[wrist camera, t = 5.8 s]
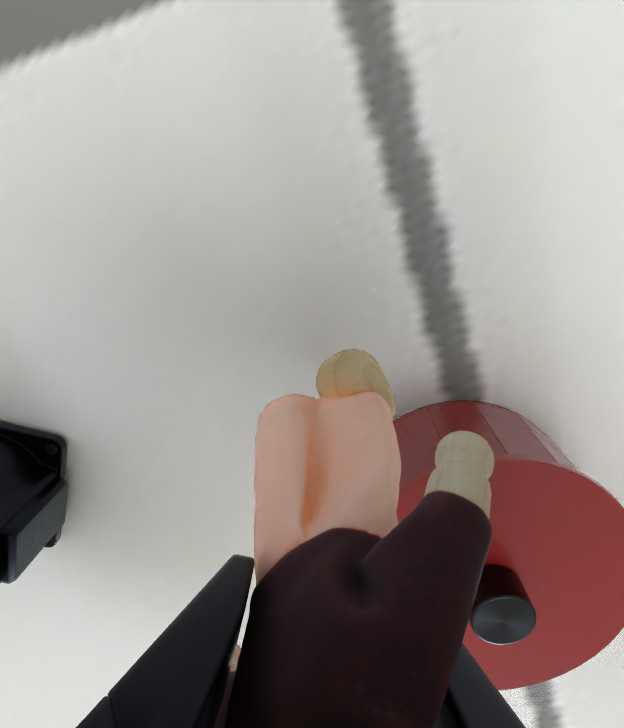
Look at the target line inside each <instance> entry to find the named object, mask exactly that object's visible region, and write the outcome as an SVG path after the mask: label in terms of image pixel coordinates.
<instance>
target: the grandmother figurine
mask: <svg viewBox="0 0 624 728" xmlns="http://www.w3.org/2000/svg"><path fill="white" fill-rule="evenodd" d="M316 387H317V390H318V393H319V395H320V397H321V398H320V399H315V398H312V397H309V396H305V395H298V394H291V395H285V396H282V397H280V398H278V399H276V400H274V401H272V402H270V403H269V404H268V405H267V406H266V408H265V409H264V410H263V412H262V413H261V415H260V417H259V420H258V427H257V434H256V439H255V477H254V487H255V519H254V561H255V573H256V587H255V589H254V591H253V593H252V597H251V601H250V612H249V619H248V622H247V626H246V630H245V635H244V639H243V642H242V648H240V646H239V645H237V644H236V649H235V653H234V657H233V661H232V665H231V669H230V673H229V677H228V681H227V685H226V689H225V693H224V696H223V699H222V703H221V706H220V709H219V712H218V715H217V718H216V721H215V724H214V727H213V728H434V726H435V724H436V722H437V720H438V717H439V714H440V710H441V707H442V704H443V702H444V698H445V695H446V692H447V689H448V685H449V682H450V679H451V676H452V673H453V669H454V666H455V664H456V661H457V659H458V656H459V652H460V648H461V645H462V641H463V638H464V634H465V631H466V628H467V624H468V621H469V617H470V614H471V610H472V606H473V603H474V600H475V598H476V593H477V589H478V585H479V582H480V579H481V575H482V571H483V567H484V564H485V561H486V558H487V555H488V551H489V547H490V543H491V538H492V526H491V522H490V521H489V514H490V503H491V489H490V483H489V481H488V479H489V477H490V476H491V474H492V471H493V467H494V455H493V452H492V449H491V447H490V445H489V444H488V442H487V441H486V440H485V439H484V438H482V437H481V436H480V435H478V434H476V433H473V432H469V431H456V432H452V433H450V434H448V435H446V436H445V437H444V438H443V439H442V440H441V441H440V442H439V444H438V446H437V449H436V452H435V465H436V468H435V469H434V470H433V471H432V473H431V475H430V477H429V480H428V483H427V487H426V490H425V494H424V497H423V498H422V500H421V501H420V502H419V503H418V505H417V506H416V508H415V509H414V510H413V511H412V512H411V513H410V514H409V515H408V516H406V517H405V518H404V519H403V520H402V521H401V522H400V523H399V524H398V521H397V516H396V509H397V504H398V497H399V482H400V475H401V458H400V451H399V446H398V441H397V436H396V432H395V429H394V425H393V420H392V419H393V417H394V415H395V412H396V402H395V399H394V396H393V394H392V392H391V389H390V387H389V385H388V383H387V380H386V378H385V376H384V373H383V371H382V369H381V367H380V365H379V364H378V362H377V361H376V359H375V358H374V357H373V356H371V355H370V354H368V353H366V352H365V351H361V350H357V349H349V350H344V351H341V352H339V353H337V354H335V355H334V356H332V357H330V358H329V359H328V360H326V361H325V362H324V363H323V364H322V366H321V367H320V369H319V371H318V374H317V377H316Z"/></svg>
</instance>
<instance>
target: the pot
mask: <svg viewBox="0 0 624 728" xmlns="http://www.w3.org/2000/svg"><path fill="white" fill-rule="evenodd" d="M393 425H394V429H395V432H396V436H397V441H398V446H399V451H400V458H401V475H400V482H399V484H400V483H402V482H403V481H405V480H407V479H408V478H410V477H412V476H414V475H416V474H418V473H419V472H421V471H424V470H426V469H428V468H431V467H433V466H436V465H435V452H436V449H437V446H438V444H439V442H440V441H441V440H442V439H443V438H444V437H445V436H446V435H448V434H450V433H452V432H456V431H469V432H473V433H476V434H478V435H480V436H481V437H482V438H484V439H485V440H486V441H487V442H488V444H489V445H490V447H491V449H492V452H493V454H502V453H504V454H520V455H528V456H534V457H540V458H545V459H548V460H551V461H555V462H558V463H561V464H564V465H567V466H569V467H571V468H573V469H575V470H577V468H576V467H575V466H574V465H573V464H572V463H571V462H570V461H569V459H568V458H567V457H566V456H565V455H564V454H563V453H562V451H561V450H560V449H559V448H558V447H557V446H556V445H555V443H554V442H553V441H552V440H551V439H550V438H549V437H548V436H547V435H546V434H544V433H543V432H542V431H540V430H539V429H538V428H537V427H536V426H535V425H533V424H532V423H531V422H530V421H528V420H527V419H525V418H524V417H522V416H521V415H519V414H517V413H515V412H513V411H511V410H509V409H506V408H503V407H500V406H497V405H494V404H489V403H484V402H478V401H448V402H442V403H437V404H432V405H429V406H426V407H422V408H419V409H417V410H414V411H412V412H410V413H408V414H405V415H404V416H402V417H400V418H399V419H397V420H395V421H394V422H393Z"/></svg>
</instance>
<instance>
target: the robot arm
mask: <svg viewBox="0 0 624 728" xmlns="http://www.w3.org/2000/svg"><path fill="white" fill-rule="evenodd" d="M51 444H54V445H55V446H56V447H57V449H55V448H53V446H52V445H51ZM66 448H67V446H66V442H65V440H64V439H63V438H62V437H60V436H57V435H54V434H49V433H45V432H41V431H37V430H33V429H28V428H24V427H20V426H16V425H11V424H7V423H3V422H0V583H1V582H3V583H8V584H10V583H11V582H13V581H15V580H16V579H17V578H18V577H19V576H20V575H21V573H22V572H23V571H24V570H25V569H26V568H27V566H28V565H29V564H30V563H31V562H32V560H33V559H34V558H35V557H36V556H37V554H38V553H39V552H40V551H41V550H42V549H43V547H53V546H54V545H55V544H56V543H57V542H58V540H59V539H60V534H61V526H62V525H63V524H64V522H65V511H66V497H67V482H66V479H65V478H64V476H65V462H66ZM254 564H255V561H254V559H253V558H251V557H246V556H241V555H233V556H232V557H231V558H230V559H229V560H228V561H227V562H226V563H225V565H224V566H223V567H222V568H221V569H220V570H219V571H218V572H217V573H216V574H215V576H214V577H213V578H212V579H211V580H210V581H209V582H208V583H207V584H206V585H205V587H204V588H203V589H202V590H201V591H200V592H199V593H198V594H197V595H196V596H195V598H194V599H193V600H192V601H191V602H190V603H189V604H188V605H187V606H186V608H185V609H184V610H183V611H182V612H181V613H180V614H179V615H178V616H177V617H176V619H175V620H174V621H173V622H172V623H171V624H170V625H169V626H168V627H167V628H166V630H165V631H164V632H163V633H162V634H161V635H160V636H159V637H158V638H157V639H156V641H155V642H154V643H153V644H152V645H151V646H150V647H149V648H148V649H147V651H146V652H145V653H144V654H143V655H142V656H141V657H140V658H139V659H138V660H137V662H136V663H135V664H134V665H133V666H132V667H131V668H130V669H129V670H128V671H127V673H126V674H125V675H124V676H123V677H122V678H121V679H120V680H119V681H118V683H117V684H116V685H115V686H114V687H113V688H112V689H111V690H110V691H109V693H108V697H107V696H105V697H104V698H103V699H102V700H101V701H100V702H99V703H98V704H97V705H96V706H95V708H94V709H93V710H92V711H91V712H90V713H89V714H88V715H87V716H86V717H85V719H84V720H83V721H82V722H81V723H80V724H79V725H78V726H77V727H76V728H213V727H214V724H215V721H216V718H217V715H218V712H219V709H220V706H221V703H222V699H223V696H224V693H225V689H226V685H227V681H228V677H229V673H230V669H231V665H232V661H233V657H234V653H235V649H236V644H237V640H238V636H239V632H240V628H241V624H242V620H243V616H244V611H245V607H246V603H247V598H248V593H249V588H250V584H251V579H252V574H253V569H254ZM434 728H526V727H525V726H524V725H523V723H522V722H521V721H520V719H519V718H518V717H517V715H516V714H515V713H514V711H513V710H512V709H511V707H510V706H509V705H508V703H507V702H506V701H505V699H504V698H503V696H502V695H501V694H500V692H499V691H498V690H497V688H496V687H495V686H494V684H493V683H492V682H491V680H490V679H489V678H488V676H487V675H486V674H485V672H484V671H483V670H482V668H481V667H480V666H479V664H478V663H477V662H476V660H475V659H474V658H473V656H472V655H471V654H470V652H469V651H468V650H467V648H466V647H465V646H464V644H463V643H462V645H461V648H460V652H459V656H458V659H457V661H456V664H455V666H454V669H453V673H452V676H451V679H450V682H449V685H448V689H447V692H446V695H445V698H444V702H443V704H442V707H441V710H440V714H439V717H438V720H437V722H436V724H435V726H434Z"/></svg>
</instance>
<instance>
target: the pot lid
mask: <svg viewBox="0 0 624 728" xmlns="http://www.w3.org/2000/svg"><path fill="white" fill-rule="evenodd" d="M493 455H494V467H493V471H492V474H491V476H490V477H489V479H488V481H489V483H490V489H491V503H490V514H489V521H490V522H491V526H492V538H491V543H490V547H489V551H488V555H487V558H486V561H485V564H484V567H483V571H482V575H481V579H480V582H479V585H478V589H477V593H476V598H475V600H474V603H473V606H472V610H471V614H470V617H469V621H468V624H467V628H466V631H465V634H464V638H463V641H462V643H463V644H464V646H465V647H466V648H467V650H468V651H469V652H470V654H471V655H472V656H473V658H474V659H475V660H476V662H477V663H478V664H479V666H480V667H481V668H482V670H483V671H484V672H485V674H486V675H487V676H488V678H489V679H490V680H491V682H492V683H493V684H494V686H495V687H496V688H497V690H507V689H515V688H520V687H525V686H530V685H534V684H537V683H540V682H544V681H547V680H550V679H552V678H555V677H557V676H560V675H562V674H565V673H567V672H568V671H570V670H572V669H574V668H576V667H578V666H580V665H582V664H583V663H585V662H586V661H588V660H589V659H591V658H592V657H594V656H595V655H596V654H597V653H599V652H600V651H601V650H602V649H604V648H605V647H606V646H607V645H608V644H609V643H610V642H611V641H612V640H613V639H614V638H615V637H616V636H617V635H618V634H619V633H620V631H621V630H622V628H623V627H624V508H623V507H622V506H621V504H620V503H619V502H618V501H617V500H616V499H615V497H614V496H613V495H612V494H611V493H609V492H608V491H607V490H606V489H605V488H604V487H603V486H601V485H600V484H599V483H598V482H596V481H595V480H593V479H591V478H590V477H588V476H587V475H585V474H584V473H582V472H580V471H578V470H575V469H573V468H571V467H569V466H567V465H564V464H561V463H558V462H555V461H551V460H548V459H545V458H540V457H534V456H528V455H520V454H504V453H502V454H493ZM435 468H436V466H433V467H431V468H428V469H426V470H424V471H421V472H419V473H418V474H416V475H414V476H412V477H410V478H408V479H407V480H405V481H403V482H402V483H400V484H399V497H398V504H397V509H396V516H397V521H398V524H399V523H400V522H401V521H402V520H403V519H404V518H405V517H406V516H408V515H409V514H410V513H411V512H412V511H413V510H414V509H415V508H416V506H417V505H418V503H419V502H420V501H421V500H422V498H423V497H424V494H425V490H426V487H427V483H428V480H429V477H430V475H431V473H432V471H433V470H434V469H435Z"/></svg>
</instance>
